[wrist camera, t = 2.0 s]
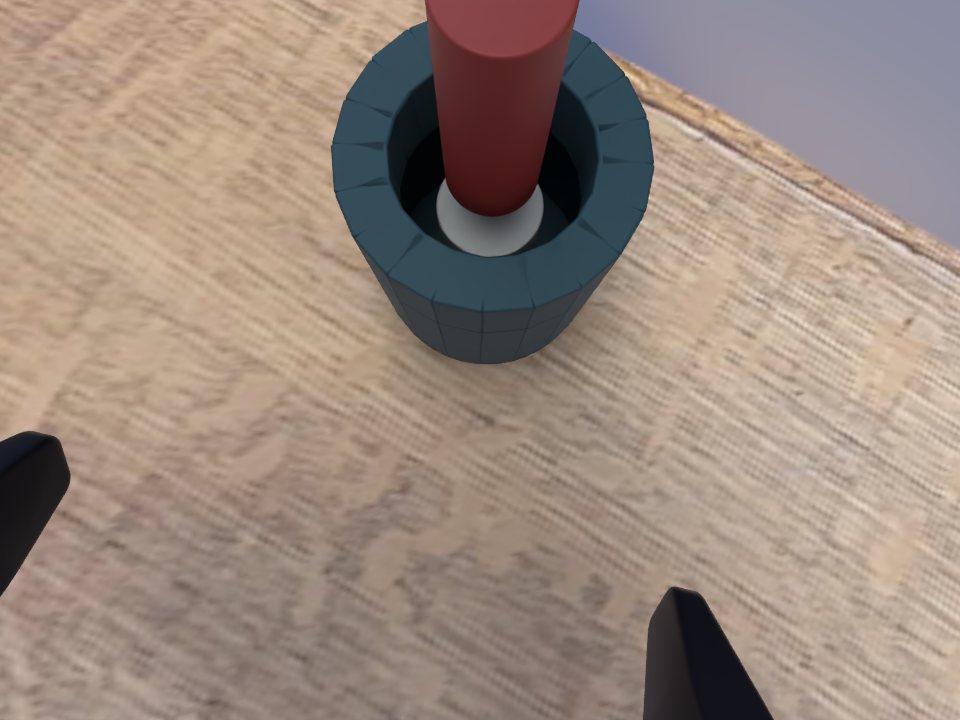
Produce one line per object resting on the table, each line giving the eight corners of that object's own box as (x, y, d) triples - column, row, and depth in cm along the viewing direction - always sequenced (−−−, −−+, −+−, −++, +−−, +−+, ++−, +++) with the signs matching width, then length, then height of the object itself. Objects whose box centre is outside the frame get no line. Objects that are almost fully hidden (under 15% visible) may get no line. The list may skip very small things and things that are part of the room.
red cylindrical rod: (542, 280, 22) (635, 42, 9) (461, 309, 22) (440, 108, 9) (511, 204, 23) (561, -131, 10) (432, 232, 23) (371, -69, 9)
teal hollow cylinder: (622, 231, 24) (710, 102, 15) (522, 402, 23) (552, 372, 14) (452, 135, 24) (438, -46, 15) (348, 299, 23) (269, 207, 14)
